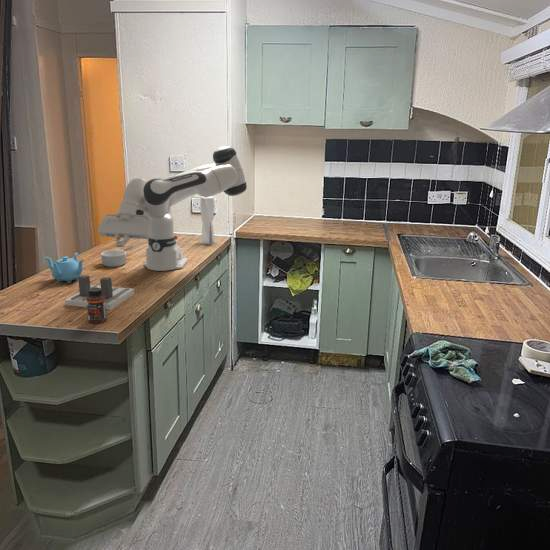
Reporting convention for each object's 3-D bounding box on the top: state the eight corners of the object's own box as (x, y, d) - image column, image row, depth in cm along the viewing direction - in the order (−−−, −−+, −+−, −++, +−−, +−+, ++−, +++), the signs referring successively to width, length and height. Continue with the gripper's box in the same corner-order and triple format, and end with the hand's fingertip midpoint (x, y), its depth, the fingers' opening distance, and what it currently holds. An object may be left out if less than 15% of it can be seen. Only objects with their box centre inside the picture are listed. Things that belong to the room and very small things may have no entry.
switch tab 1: (83, 294, 188) (81, 275, 186) (91, 294, 188) (89, 275, 185) (79, 296, 186) (77, 276, 184) (87, 296, 185) (85, 277, 183)
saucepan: (142, 258, 245) (142, 247, 243) (116, 269, 227) (115, 257, 225) (123, 255, 249) (122, 244, 247) (95, 266, 231) (94, 254, 229)
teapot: (86, 282, 208) (84, 258, 205) (52, 287, 202) (50, 263, 199) (79, 274, 219) (77, 251, 216) (47, 278, 212) (44, 255, 209)
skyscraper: (197, 244, 274) (196, 193, 266) (203, 241, 282) (202, 191, 273) (211, 245, 272) (210, 194, 264) (217, 242, 279) (217, 192, 271)
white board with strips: (93, 289, 200) (92, 283, 199) (134, 293, 196) (134, 287, 195) (65, 305, 183) (64, 298, 182) (110, 309, 179) (109, 303, 178)
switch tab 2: (105, 296, 186) (103, 277, 184) (112, 297, 186) (111, 277, 184) (101, 298, 184) (100, 279, 182) (109, 299, 183) (107, 279, 181)
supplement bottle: (87, 324, 166) (84, 292, 163) (88, 318, 172) (85, 286, 168) (106, 323, 168) (103, 291, 164) (107, 316, 173) (104, 285, 170)
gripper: (101, 209, 194) (90, 240, 188) (150, 212, 190) (141, 243, 184) (108, 218, 199) (98, 248, 193) (156, 221, 196) (147, 252, 190)
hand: (119, 246), depth 189 cm, fingers closed
